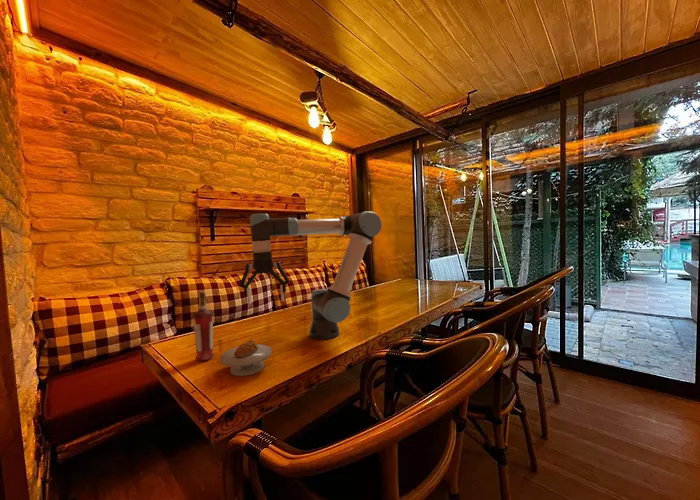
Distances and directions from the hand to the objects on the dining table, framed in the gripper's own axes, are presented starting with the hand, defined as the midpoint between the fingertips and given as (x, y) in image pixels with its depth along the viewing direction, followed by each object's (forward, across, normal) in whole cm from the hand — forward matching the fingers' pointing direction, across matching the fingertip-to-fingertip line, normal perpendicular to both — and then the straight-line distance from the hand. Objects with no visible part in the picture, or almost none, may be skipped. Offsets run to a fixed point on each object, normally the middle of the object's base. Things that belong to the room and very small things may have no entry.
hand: (266, 302), depth 120 cm
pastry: (+16, +6, +12) cm, 21 cm away
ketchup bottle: (+22, +27, 0) cm, 35 cm away
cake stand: (+22, +6, +12) cm, 26 cm away
